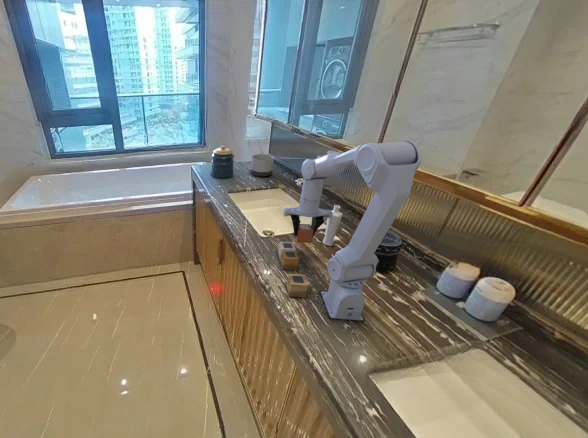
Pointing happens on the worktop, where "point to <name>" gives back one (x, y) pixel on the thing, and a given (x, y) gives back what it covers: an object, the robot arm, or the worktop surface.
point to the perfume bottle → (332, 226)
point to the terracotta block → (304, 233)
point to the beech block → (289, 260)
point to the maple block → (296, 285)
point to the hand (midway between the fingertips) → (303, 235)
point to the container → (388, 251)
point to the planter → (262, 165)
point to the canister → (222, 163)
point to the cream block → (285, 247)
